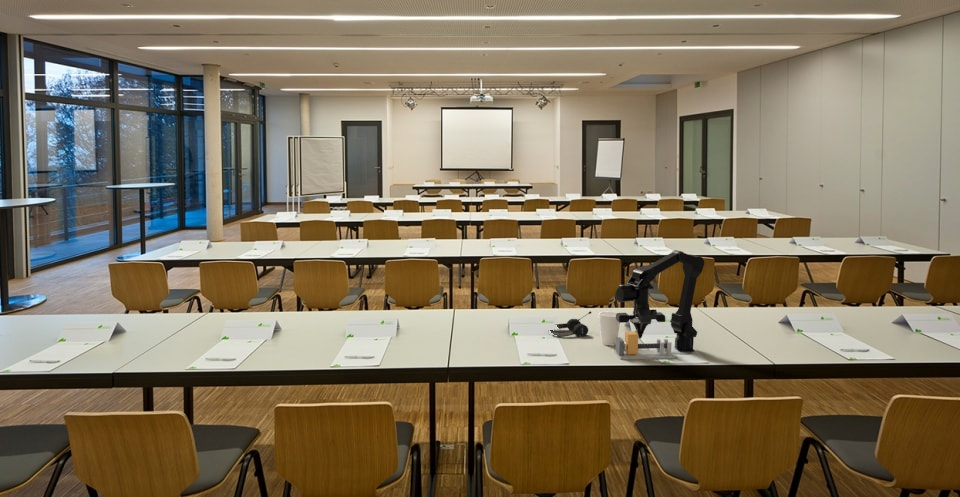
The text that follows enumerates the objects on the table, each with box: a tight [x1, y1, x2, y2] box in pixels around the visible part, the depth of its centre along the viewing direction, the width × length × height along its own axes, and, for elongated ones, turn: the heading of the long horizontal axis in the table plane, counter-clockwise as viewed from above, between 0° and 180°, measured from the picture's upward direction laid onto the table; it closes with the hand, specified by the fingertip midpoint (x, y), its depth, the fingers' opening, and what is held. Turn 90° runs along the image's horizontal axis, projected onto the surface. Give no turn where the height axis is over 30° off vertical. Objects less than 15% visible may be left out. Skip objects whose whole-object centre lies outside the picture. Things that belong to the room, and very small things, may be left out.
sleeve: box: [624, 330, 639, 354], centre depth 290 cm, size 4×5×8 cm
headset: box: [550, 310, 592, 338], centre depth 325 cm, size 14×10×20 cm
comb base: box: [613, 336, 676, 360], centre depth 291 cm, size 22×10×7 cm, turn 93°
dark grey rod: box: [624, 341, 668, 351], centre depth 290 cm, size 21×3×3 cm, turn 93°
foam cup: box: [598, 310, 621, 346], centre depth 307 cm, size 10×9×13 cm
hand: (639, 338), depth 290 cm, fingers closed
